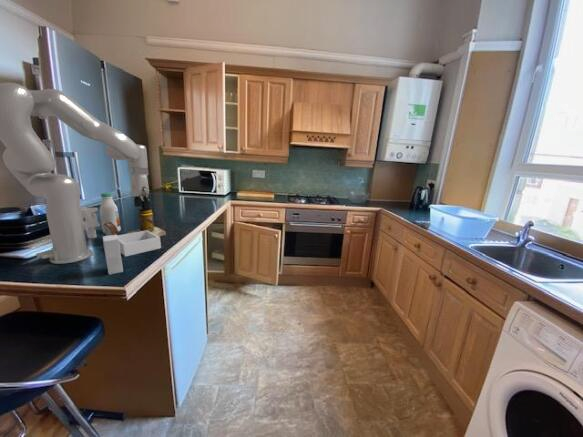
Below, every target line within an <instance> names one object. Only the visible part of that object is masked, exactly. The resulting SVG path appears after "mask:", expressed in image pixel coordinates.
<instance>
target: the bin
mask: <svg viewBox="0 0 583 437" xmlns="http://www.w3.org/2000/svg"><path fill="white" fill-rule="evenodd" d="M117 236H118V240H119V246H120V253H121V255H123V256H124V257H129V256H134V255H138V254H141V253H146V252H150V251H155V250H160V249H162V243H161V236H157V235H155V234H153V233H151V232H150V231H148V230H146V231H140V232H134V233H129V234H127V233H124V234H123V233H122V234H119V235H117Z"/></svg>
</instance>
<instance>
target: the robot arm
mask: <svg viewBox="0 0 583 437" xmlns="http://www.w3.org/2000/svg"><path fill="white" fill-rule="evenodd" d="M30 117H54V118H56V119H58V120H59V121H60V122H62V123H64V124H65V125H66V126H68V127H69V128H71V129H72V130H73V131H75V132H76V133H78V134H79V135H80V136H83V137H85V138H87V139H90V140H93V141H96V142H100V143H103V144H105V145H107V146H106V148H105V153H106V155H107V156H108V157H109V158H111V159H113V160H116V161H128V167H129V176H130V188H131V189H130V190H131V195H132V196H133V201H134V207H135V208H137V207H139V208H140V207H141V208H142V209H150V208H151V207H150V196H149V195H150V187H149V180H148V176H149V168H148V167H149V165H148V164H149V163H148V152H147V147H146V145H143V144H136V143H135V142H134V141H133V140H132V139H131V137H129V136H127V135H126V134H124V133H123V132H122V131H120V130H118V129H117V128H114V127H113V126H111V125H109V124H107V123H105V122H103V121H101V120H100V119H98V118H96V117H95V116H94V115H92V113H90V111H87V109H86V108H84V107H83V106H82V105H80V104H79V103H78V102H76V101H75V100H74V99H73V98H72V97H71V96H69V95H68V94H67V93H65V92H64V91H62V90H60V89H56V88H46V89H45V88H44V89H36V90H34V89H28V88H27V87H26V86H24V85H21V84H19V83H15V82H2V83H0V141H1V142H2V144H3V145H4V147H5V149H4V152H2V161H3V163H4V165H5V167H6V168H7V169H8V170H9V172H10V173H12V175H13V176H14V177H15V178H16V179H17V180H18V182H19V183H20V184H21V185H22V186H23V187H24V188H25V189H26V191H27V192H28V193H30V194H31V195H33V196H34V197H36V198H39V199H44V200H46V203H45V214H46V215H45V216H46V220H47V224H48V225H47V226H48V229H49V234H50V239H51V244H52V247H50V248H51V249H49V250H48V251H45V252H38V253H36V259H43V260H44V259H48V258H49V262H50V263H52V264H54V265H55V264H56V265H61V264H69V263H77V262H79V261H84V260H86V259H89V258H91V257H92V256H93V254H94V252H93V250H92V249H89V248H88V246H87V241H86V240H87V239H86V234H85V228H83V222H82V216H83V215H81V210H80V207H81V203H80V202H81V187H80V185H79V183H78V182H77V181H76V180H75V179H74V178H72V177H71V176H70V175H67V174H60V173H52V171H54V170H55V168H56V166H57V162H56V159H55V157H54V156H53V154H52V152H50V150H49V149H48V147H47V146H46V145H45V144H44V142H43V141H42V140H41V138H40V137H39V136H38V135H37V133H36V131H35V130H34V128H33V127H32V124H31V122H30V121H31V120H30Z"/></svg>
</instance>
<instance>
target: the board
mask: <svg viewBox="0 0 583 437" xmlns="http://www.w3.org/2000/svg"><path fill="white" fill-rule="evenodd" d="M137 230H138V229H136V230H130V231H126V234H129V233H134V231H137ZM154 230H156V231H157V232H152V233H153V234H155V235H157V236H159V237H162V236H163V237H164V236H166V234H167V233H166V231H165V230H163V229H161V228H160V227H158V226H154Z"/></svg>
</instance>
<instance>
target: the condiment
mask: <svg viewBox="0 0 583 437" xmlns="http://www.w3.org/2000/svg"><path fill="white" fill-rule="evenodd" d="M138 210H139V211H138V220H139V229H136V230H137V231H136V230H133V231H134V232H140V231H146V230H148V231H150V232H151V233H152V232H157V231H156V230H154V227H155V222H154V221H155V220H154V213H153V212H152V207H150V209H142V207H139V209H138Z"/></svg>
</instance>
